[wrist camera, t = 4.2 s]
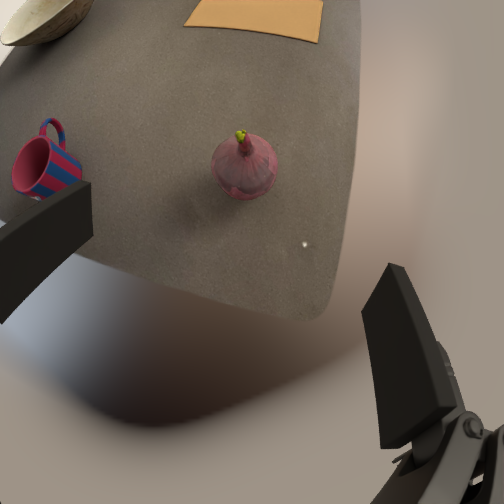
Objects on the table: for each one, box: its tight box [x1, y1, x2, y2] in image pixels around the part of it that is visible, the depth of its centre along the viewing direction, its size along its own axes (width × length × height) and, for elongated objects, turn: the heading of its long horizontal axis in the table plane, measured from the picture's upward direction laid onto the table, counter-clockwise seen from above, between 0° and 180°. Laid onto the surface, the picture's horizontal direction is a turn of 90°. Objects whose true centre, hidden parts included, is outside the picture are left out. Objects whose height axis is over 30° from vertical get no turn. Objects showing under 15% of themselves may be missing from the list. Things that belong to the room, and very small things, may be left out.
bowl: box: [0, 0, 93, 46], centre depth 27 cm, size 24×24×10 cm
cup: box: [11, 118, 82, 202], centre depth 25 cm, size 7×10×7 cm
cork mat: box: [184, 0, 323, 43], centre depth 32 cm, size 20×14×1 cm
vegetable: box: [211, 129, 278, 200], centre depth 24 cm, size 6×6×10 cm
